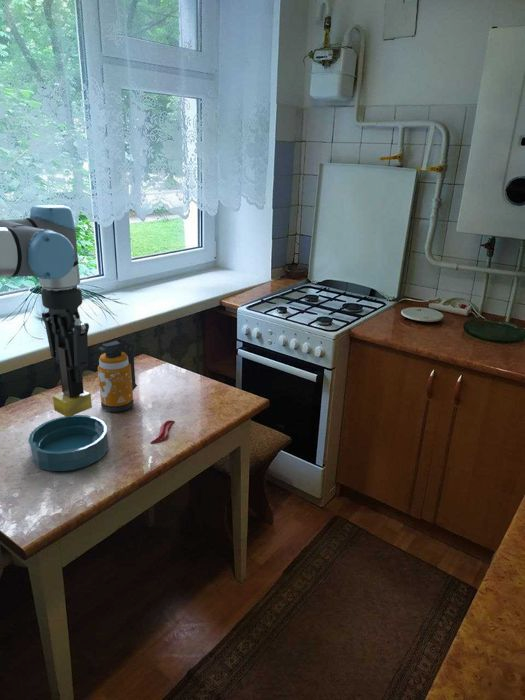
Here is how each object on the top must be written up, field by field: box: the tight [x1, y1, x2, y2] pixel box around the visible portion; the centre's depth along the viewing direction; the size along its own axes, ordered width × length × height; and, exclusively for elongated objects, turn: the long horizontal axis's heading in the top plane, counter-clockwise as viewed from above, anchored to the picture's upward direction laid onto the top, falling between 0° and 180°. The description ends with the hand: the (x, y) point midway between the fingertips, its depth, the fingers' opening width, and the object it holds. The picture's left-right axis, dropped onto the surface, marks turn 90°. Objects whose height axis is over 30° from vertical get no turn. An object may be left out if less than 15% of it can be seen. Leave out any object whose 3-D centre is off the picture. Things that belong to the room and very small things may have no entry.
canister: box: [97, 338, 138, 413], centre depth 141 cm, size 9×11×20 cm
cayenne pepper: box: [150, 419, 176, 444], centre depth 131 cm, size 12×5×2 cm, turn 154°
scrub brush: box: [52, 345, 93, 417], centre depth 105 cm, size 6×5×14 cm
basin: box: [27, 414, 109, 472], centre depth 120 cm, size 18×18×6 cm
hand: (73, 392), depth 107 cm, fingers closed on scrub brush, 2 cm apart
